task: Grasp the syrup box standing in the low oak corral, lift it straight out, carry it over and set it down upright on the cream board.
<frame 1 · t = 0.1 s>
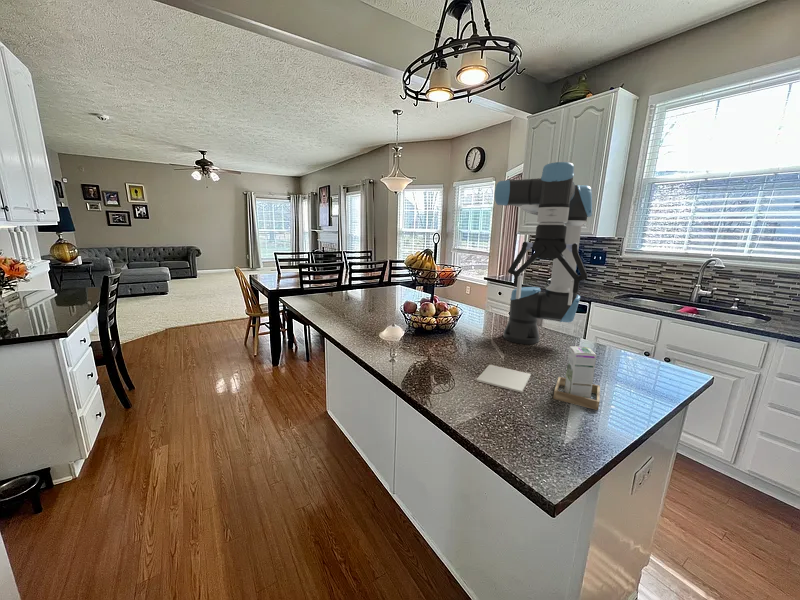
hand: (542, 301, 92), 28 cm above the countertop, fingers open, 13 cm apart
syrup box: (576, 396, 96), resting in corral
board: (504, 378, 107), on the countertop
corral: (576, 396, 96), on the countertop
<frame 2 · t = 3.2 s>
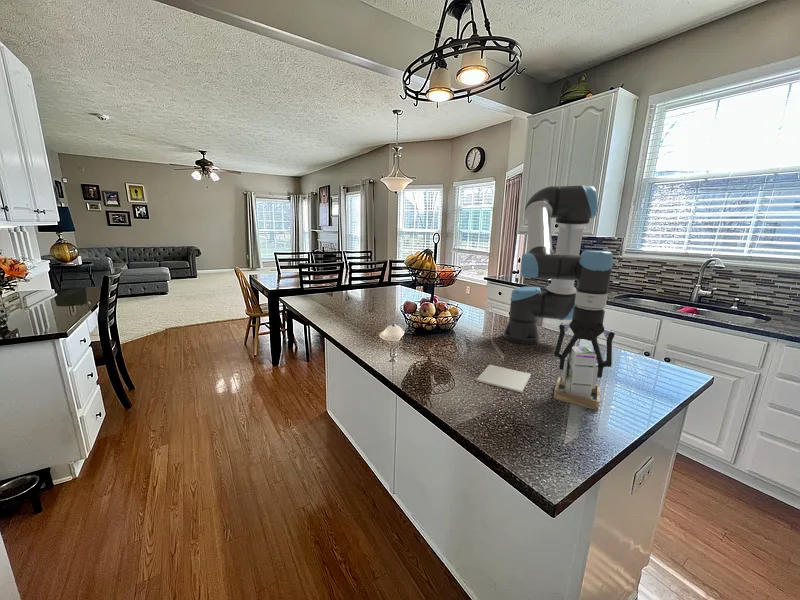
hand: (578, 383, 95), 4 cm above the countertop, fingers closed on syrup box, 7 cm apart
syrup box: (576, 396, 96), resting in corral, touching gripper
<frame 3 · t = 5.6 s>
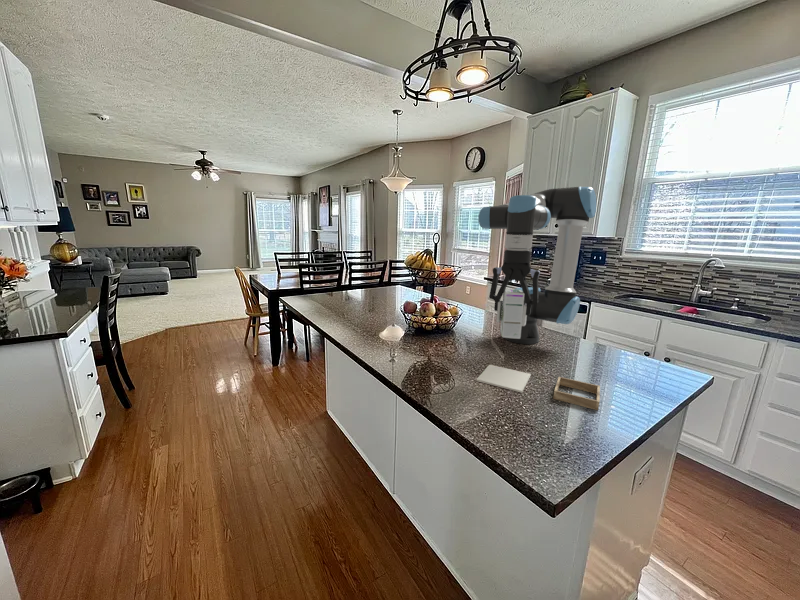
hand: (511, 322, 102), 19 cm above the countertop, fingers closed on syrup box, 7 cm apart
syrup box: (509, 336, 103), point 15 cm above the countertop, touching gripper
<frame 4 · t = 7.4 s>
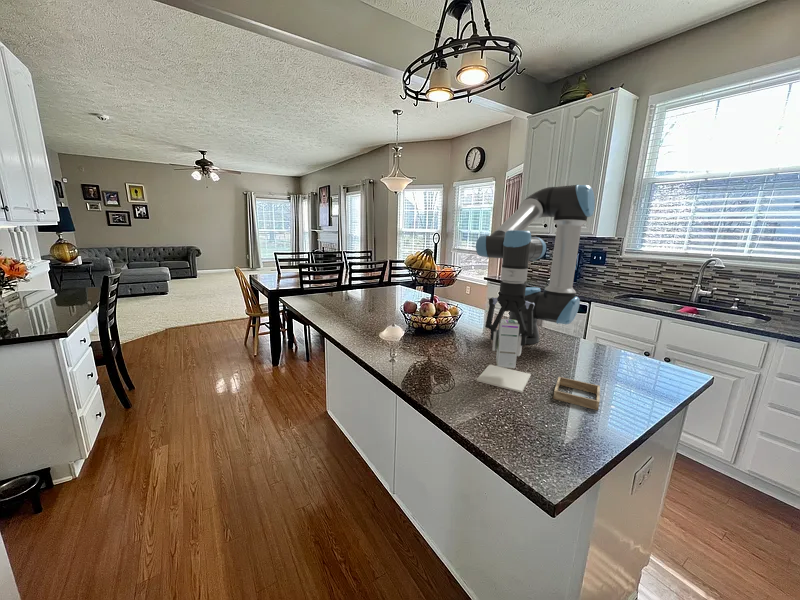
hand: (506, 352, 105), 9 cm above the countertop, fingers closed on syrup box, 7 cm apart
syrup box: (505, 364, 106), point 5 cm above the countertop, touching gripper
when the fingers open (6 cm above the countertop, at t = 8.4 s): syrup box drops 1 cm, resting on board.
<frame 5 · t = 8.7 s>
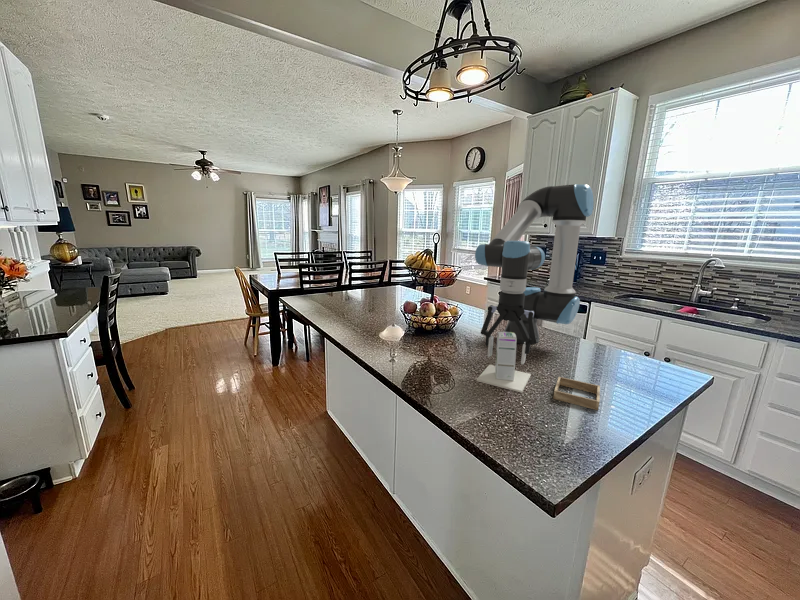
hand: (505, 359, 105), 7 cm above the countertop, fingers open, 10 cm apart
syrup box: (503, 376, 107), resting on board
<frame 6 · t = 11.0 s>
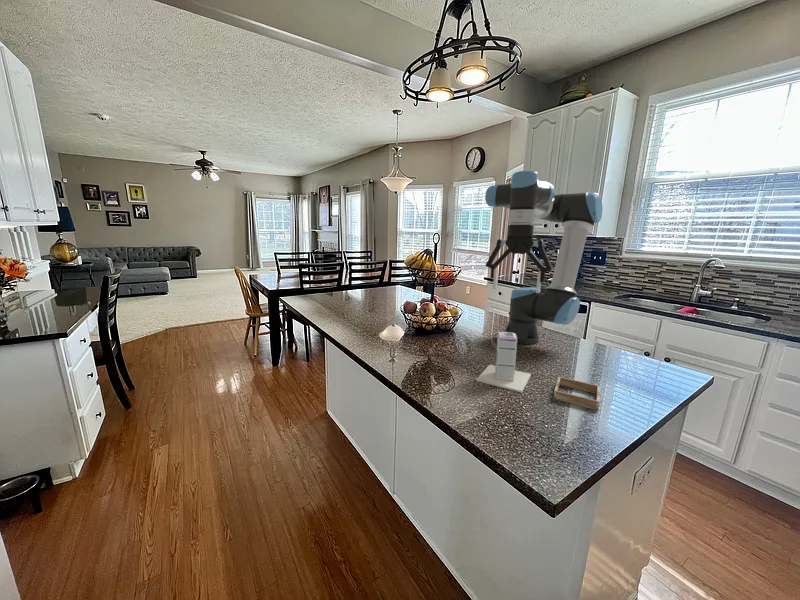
hand: (515, 290, 107), 28 cm above the countertop, fingers open, 13 cm apart
nothing on the countertop moved.
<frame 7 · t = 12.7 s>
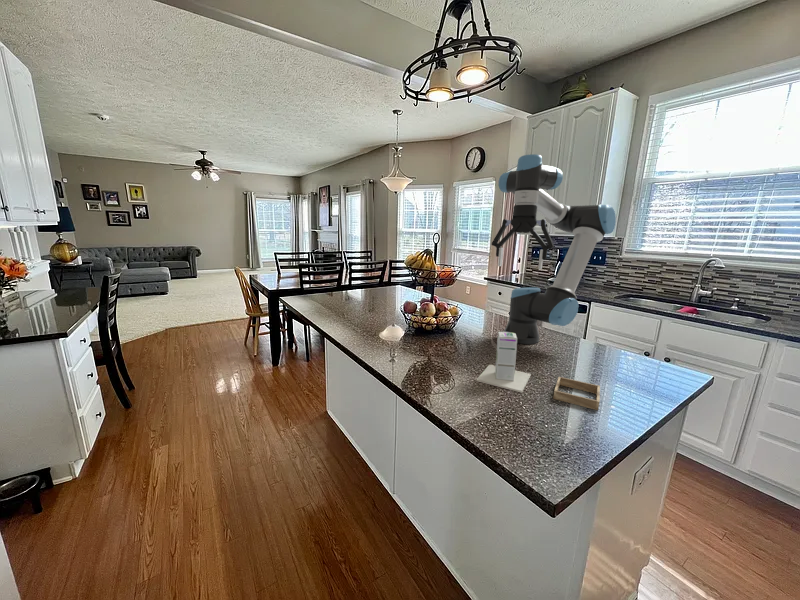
hand: (519, 267, 114), 35 cm above the countertop, fingers open, 13 cm apart
nothing on the countertop moved.
at the end: syrup box inside the target area on the board (0.1 cm from its centre), point 0.4 cm above the board's base; syrup box tilted 0°; the gripper is holding nothing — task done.
